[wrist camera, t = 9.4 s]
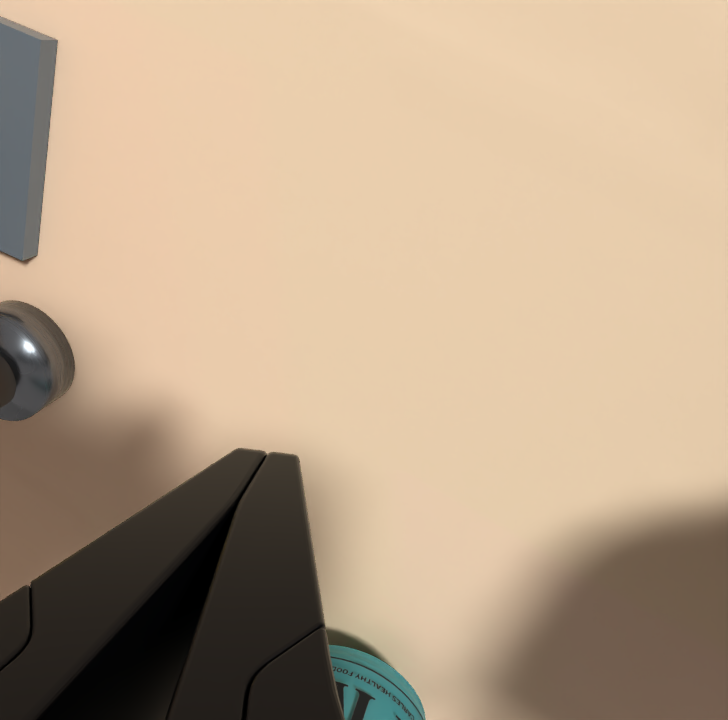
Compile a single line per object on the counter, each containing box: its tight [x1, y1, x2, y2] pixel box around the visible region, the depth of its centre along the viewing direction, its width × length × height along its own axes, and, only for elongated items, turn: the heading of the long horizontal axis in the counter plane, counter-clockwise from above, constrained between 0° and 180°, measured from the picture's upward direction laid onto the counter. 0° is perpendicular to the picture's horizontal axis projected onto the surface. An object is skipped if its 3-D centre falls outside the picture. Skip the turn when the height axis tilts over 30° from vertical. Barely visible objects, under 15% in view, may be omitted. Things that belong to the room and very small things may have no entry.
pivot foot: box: [0, 301, 75, 421], centre depth 24 cm, size 4×4×2 cm
